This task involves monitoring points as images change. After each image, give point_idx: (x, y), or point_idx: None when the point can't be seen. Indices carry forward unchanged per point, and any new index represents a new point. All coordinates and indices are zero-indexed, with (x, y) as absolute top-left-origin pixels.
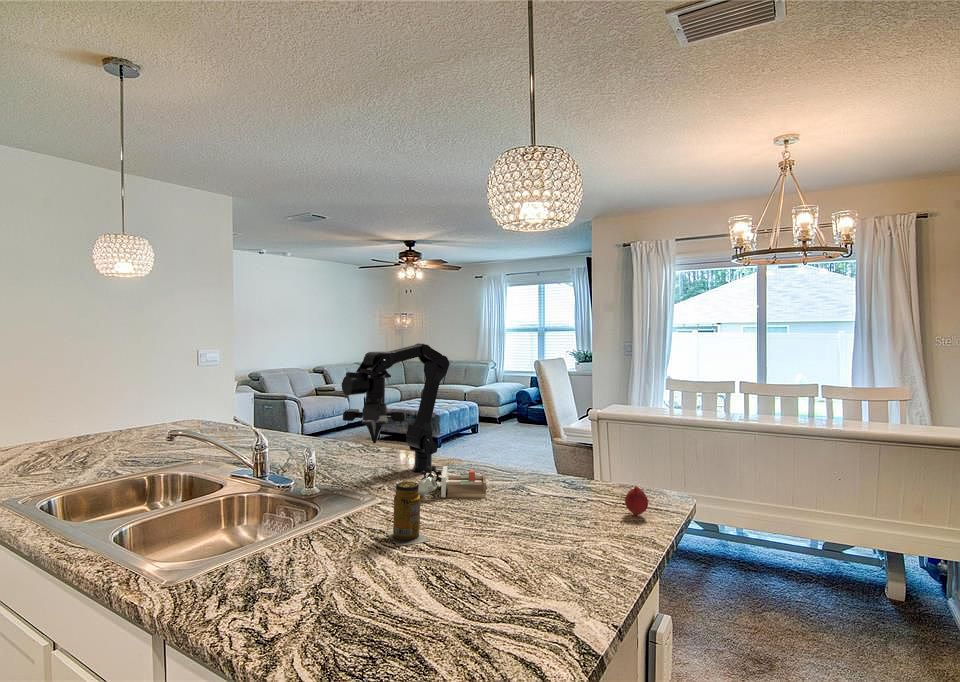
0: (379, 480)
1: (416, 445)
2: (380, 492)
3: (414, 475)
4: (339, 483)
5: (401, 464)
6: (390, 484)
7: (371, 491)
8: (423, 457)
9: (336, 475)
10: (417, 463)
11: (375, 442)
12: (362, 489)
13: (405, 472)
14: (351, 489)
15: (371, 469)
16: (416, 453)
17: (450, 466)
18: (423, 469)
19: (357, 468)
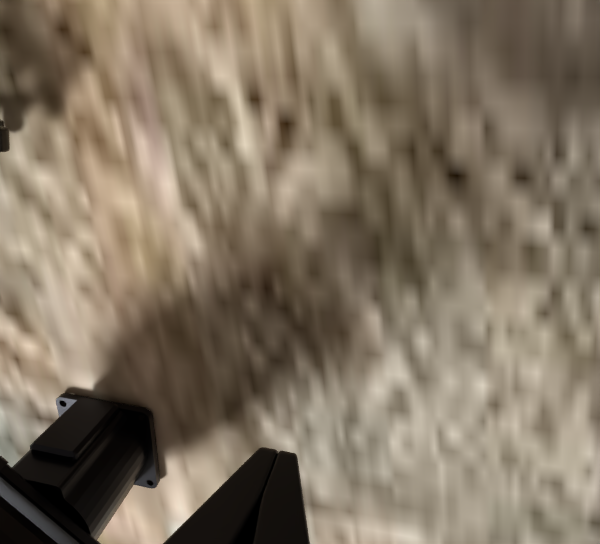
0: (307, 288)
1: (11, 526)
2: (268, 20)
3: (132, 356)
4: (578, 246)
5: None
6: (230, 203)
7: (334, 45)
8: (44, 459)
9: (592, 413)
10: (102, 439)
11: (261, 451)
12: (403, 96)
13: (187, 409)
14: (486, 97)
15: (374, 483)
16: (77, 501)
17: (10, 461)
18: (88, 402)
19: (455, 512)
